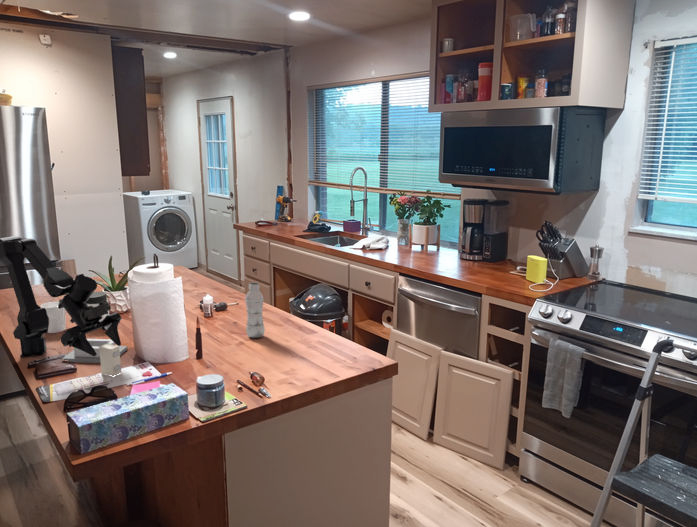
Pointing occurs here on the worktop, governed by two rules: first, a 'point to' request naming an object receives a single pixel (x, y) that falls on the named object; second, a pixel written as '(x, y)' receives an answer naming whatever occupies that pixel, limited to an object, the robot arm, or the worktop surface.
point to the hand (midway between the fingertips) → (108, 350)
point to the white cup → (55, 317)
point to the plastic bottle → (254, 311)
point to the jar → (97, 301)
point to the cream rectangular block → (110, 359)
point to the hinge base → (88, 359)
